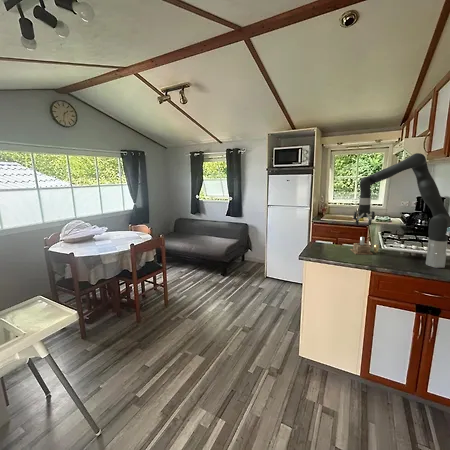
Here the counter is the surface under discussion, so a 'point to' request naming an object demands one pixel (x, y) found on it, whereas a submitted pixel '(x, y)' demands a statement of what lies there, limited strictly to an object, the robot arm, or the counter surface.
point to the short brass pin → (376, 248)
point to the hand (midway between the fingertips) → (363, 225)
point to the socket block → (361, 249)
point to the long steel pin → (362, 241)
